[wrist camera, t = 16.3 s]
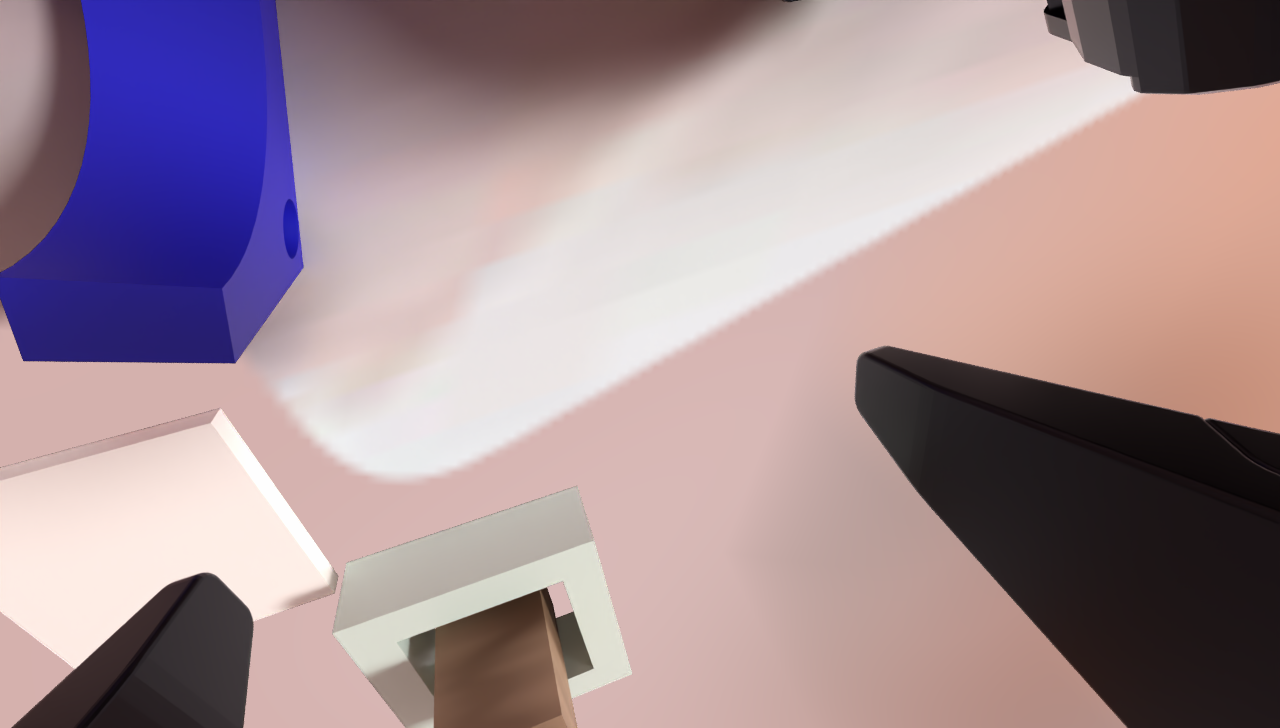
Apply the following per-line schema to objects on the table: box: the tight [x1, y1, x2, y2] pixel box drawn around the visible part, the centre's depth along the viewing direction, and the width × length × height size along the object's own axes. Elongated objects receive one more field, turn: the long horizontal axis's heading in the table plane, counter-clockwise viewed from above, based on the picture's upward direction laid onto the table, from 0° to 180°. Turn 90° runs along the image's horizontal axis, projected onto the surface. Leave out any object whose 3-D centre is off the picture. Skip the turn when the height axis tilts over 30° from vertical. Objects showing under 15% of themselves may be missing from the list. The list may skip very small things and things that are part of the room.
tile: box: [0, 408, 338, 669], centre depth 17 cm, size 8×8×1 cm
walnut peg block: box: [434, 587, 577, 728], centre depth 20 cm, size 4×4×7 cm
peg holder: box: [332, 486, 632, 728], centre depth 22 cm, size 9×9×3 cm
